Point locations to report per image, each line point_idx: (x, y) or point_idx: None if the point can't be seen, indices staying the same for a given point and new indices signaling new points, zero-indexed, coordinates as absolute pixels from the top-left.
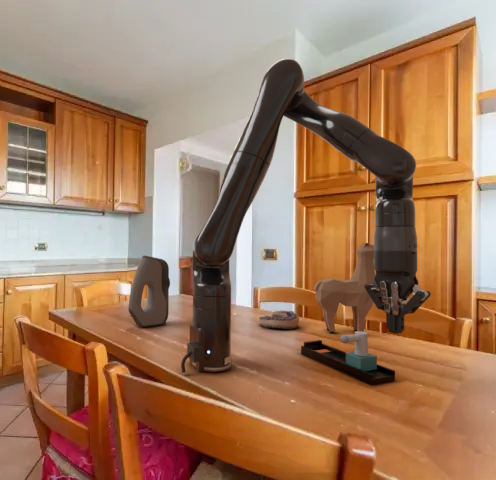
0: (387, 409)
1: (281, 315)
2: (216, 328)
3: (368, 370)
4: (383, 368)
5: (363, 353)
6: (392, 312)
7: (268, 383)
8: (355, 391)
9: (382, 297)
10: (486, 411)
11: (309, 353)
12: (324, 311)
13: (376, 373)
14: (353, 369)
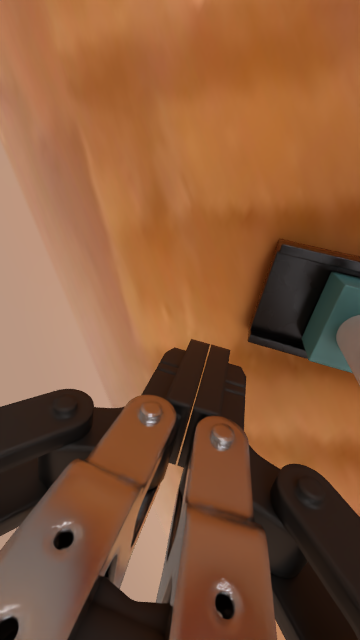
0: (178, 101)
1: None
2: None
3: (316, 305)
4: (282, 342)
5: (349, 324)
6: (174, 418)
7: None
8: (296, 139)
9: (261, 594)
10: (75, 308)
11: None
12: None
13: (291, 307)
14: (357, 260)
